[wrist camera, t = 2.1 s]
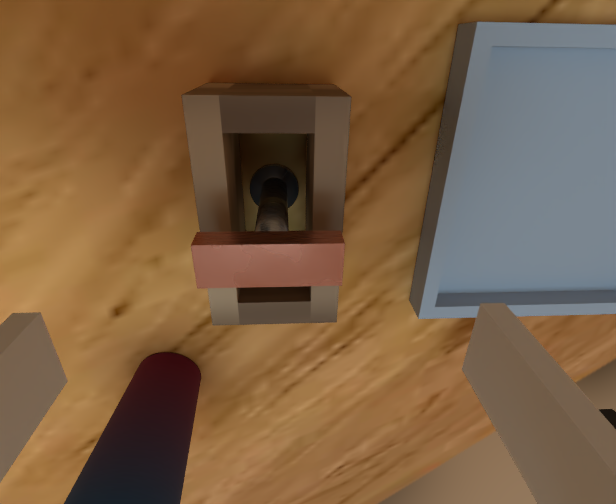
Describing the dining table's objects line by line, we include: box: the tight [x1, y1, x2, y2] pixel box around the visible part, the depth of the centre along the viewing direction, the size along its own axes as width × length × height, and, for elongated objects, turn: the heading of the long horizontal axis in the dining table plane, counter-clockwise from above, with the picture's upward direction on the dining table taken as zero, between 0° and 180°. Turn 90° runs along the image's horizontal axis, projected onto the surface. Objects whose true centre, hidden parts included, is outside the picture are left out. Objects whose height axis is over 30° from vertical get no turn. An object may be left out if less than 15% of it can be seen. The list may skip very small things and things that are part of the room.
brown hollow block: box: [182, 83, 351, 325], centre depth 21 cm, size 12×7×6 cm, turn 179°
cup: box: [64, 352, 201, 504], centre depth 24 cm, size 7×7×15 cm
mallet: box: [191, 164, 345, 288], centre depth 19 cm, size 3×6×10 cm, turn 89°
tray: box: [409, 22, 616, 319], centre depth 24 cm, size 18×18×2 cm
